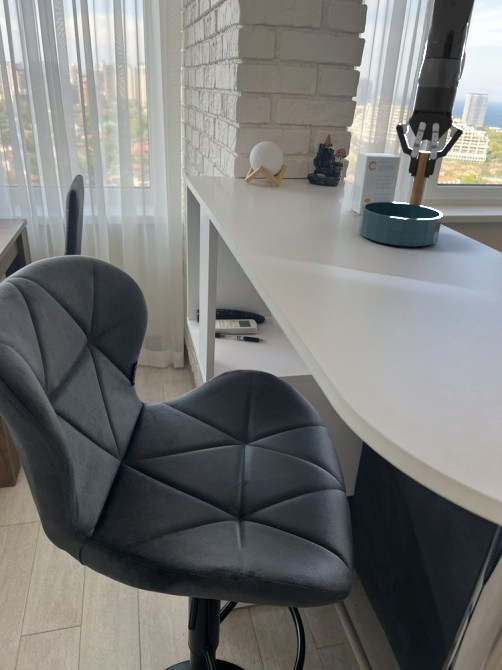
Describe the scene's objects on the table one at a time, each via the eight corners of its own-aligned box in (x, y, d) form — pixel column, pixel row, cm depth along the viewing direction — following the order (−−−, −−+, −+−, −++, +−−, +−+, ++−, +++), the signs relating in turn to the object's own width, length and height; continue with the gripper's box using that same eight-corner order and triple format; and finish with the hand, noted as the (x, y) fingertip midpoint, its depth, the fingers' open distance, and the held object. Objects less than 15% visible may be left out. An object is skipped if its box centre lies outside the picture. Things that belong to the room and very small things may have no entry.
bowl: (437, 234, 104) (443, 207, 102) (434, 253, 91) (441, 223, 89) (365, 224, 108) (369, 198, 106) (352, 241, 96) (356, 212, 93)
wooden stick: (417, 223, 112) (431, 151, 105) (416, 225, 110) (430, 152, 103) (406, 221, 113) (419, 150, 106) (405, 224, 111) (418, 151, 104)
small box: (381, 209, 124) (390, 153, 118) (391, 215, 118) (401, 156, 112) (349, 208, 122) (357, 152, 117) (358, 214, 117) (367, 155, 111)
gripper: (474, 87, 100) (454, 177, 108) (403, 84, 104) (388, 171, 112) (475, 87, 94) (454, 182, 102) (399, 83, 98) (384, 175, 106)
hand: (420, 176), depth 107 cm, fingers closed on wooden stick, 2 cm apart
